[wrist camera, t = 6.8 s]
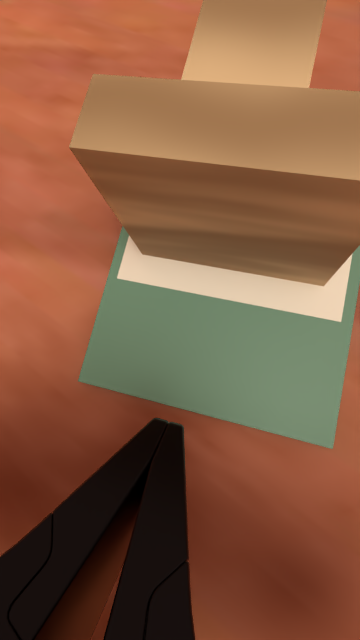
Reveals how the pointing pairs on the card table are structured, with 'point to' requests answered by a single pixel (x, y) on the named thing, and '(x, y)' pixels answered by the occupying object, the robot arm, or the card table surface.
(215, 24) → the oak t block
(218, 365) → the board
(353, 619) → the card table surface
